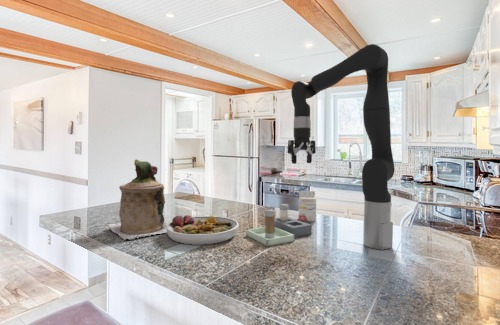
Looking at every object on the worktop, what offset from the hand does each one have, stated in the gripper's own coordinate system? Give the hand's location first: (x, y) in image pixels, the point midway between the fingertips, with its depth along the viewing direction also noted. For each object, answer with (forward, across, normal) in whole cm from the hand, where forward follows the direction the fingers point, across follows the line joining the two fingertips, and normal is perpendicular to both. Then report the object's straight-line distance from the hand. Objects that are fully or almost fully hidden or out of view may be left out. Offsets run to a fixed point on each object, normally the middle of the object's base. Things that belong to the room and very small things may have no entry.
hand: (301, 163), depth 134 cm
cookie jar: (+30, -63, +35) cm, 78 cm away
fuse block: (+30, -6, +1) cm, 31 cm away
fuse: (+30, -6, +5) cm, 31 cm away
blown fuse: (+30, -20, -4) cm, 36 cm away
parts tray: (+30, -20, -4) cm, 36 cm away
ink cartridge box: (+30, +14, +12) cm, 36 cm away
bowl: (+31, -42, +14) cm, 54 cm away
